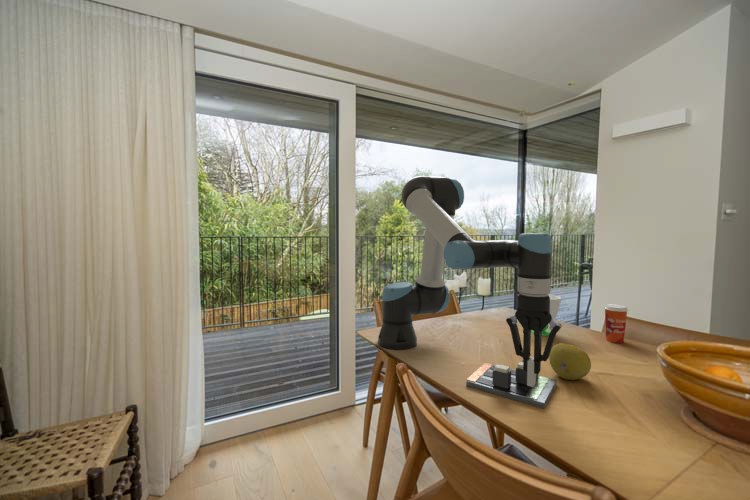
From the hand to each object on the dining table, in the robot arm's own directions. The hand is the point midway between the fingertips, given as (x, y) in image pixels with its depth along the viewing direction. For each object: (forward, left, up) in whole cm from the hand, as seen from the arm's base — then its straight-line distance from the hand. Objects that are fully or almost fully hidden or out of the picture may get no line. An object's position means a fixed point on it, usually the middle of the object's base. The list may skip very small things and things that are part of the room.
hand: (531, 384), depth 86 cm
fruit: (+6, +21, -5) cm, 23 cm away
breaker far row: (-3, +11, -2) cm, 12 cm away
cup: (-10, +63, -5) cm, 64 cm away
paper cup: (+15, +69, -5) cm, 71 cm away
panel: (-6, +5, -4) cm, 9 cm away
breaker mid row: (-3, +5, -2) cm, 7 cm away
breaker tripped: (-7, 0, -2) cm, 8 cm away
